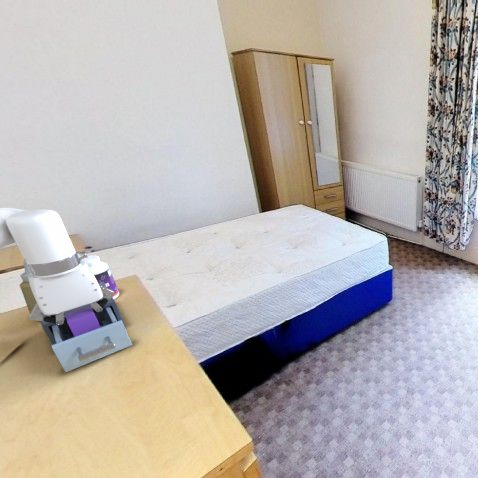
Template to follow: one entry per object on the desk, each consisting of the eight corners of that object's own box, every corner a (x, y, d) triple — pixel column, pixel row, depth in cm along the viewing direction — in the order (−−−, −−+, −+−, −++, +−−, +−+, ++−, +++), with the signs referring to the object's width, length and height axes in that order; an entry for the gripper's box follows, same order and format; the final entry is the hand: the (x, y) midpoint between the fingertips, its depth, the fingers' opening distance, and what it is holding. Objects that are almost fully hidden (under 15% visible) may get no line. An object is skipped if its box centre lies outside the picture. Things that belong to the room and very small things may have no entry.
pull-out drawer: (137, 354, 79) (127, 331, 76) (69, 384, 71) (54, 359, 68) (119, 321, 90) (110, 300, 87) (58, 344, 82) (45, 321, 79)
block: (101, 328, 80) (94, 313, 78) (75, 338, 76) (67, 322, 75) (97, 321, 82) (91, 306, 80) (72, 329, 79) (64, 314, 77)
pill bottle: (84, 310, 96) (63, 268, 90) (87, 298, 101) (68, 258, 96) (120, 301, 101) (103, 260, 95) (120, 289, 106) (104, 251, 100)
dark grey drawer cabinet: (126, 328, 89) (114, 301, 86) (58, 355, 80) (41, 325, 76) (114, 307, 98) (103, 281, 94) (51, 328, 88) (36, 300, 85)
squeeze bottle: (46, 309, 96) (17, 256, 88) (81, 304, 98) (56, 252, 91) (26, 326, 89) (-6, 270, 81) (65, 320, 91) (36, 265, 84)
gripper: (102, 247, 80) (127, 307, 88) (-5, 272, 68) (33, 339, 75) (109, 257, 76) (134, 319, 83) (-5, 284, 64) (36, 354, 71)
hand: (86, 328), depth 79 cm, fingers closed on block, 4 cm apart
